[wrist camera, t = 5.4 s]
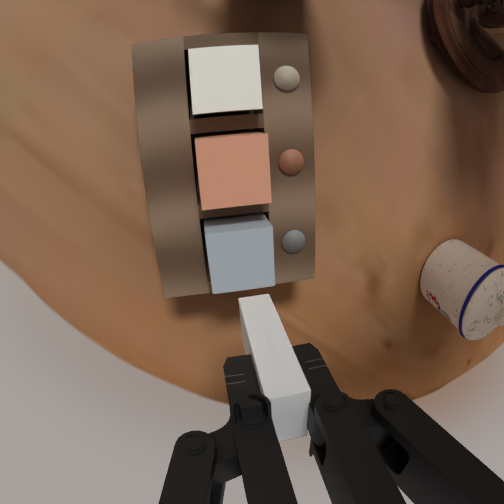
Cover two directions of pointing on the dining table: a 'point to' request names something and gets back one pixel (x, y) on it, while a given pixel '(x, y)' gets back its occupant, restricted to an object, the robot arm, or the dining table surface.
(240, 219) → the grey key
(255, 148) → the terracotta key
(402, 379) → the dining table surface
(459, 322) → the teacup with lid
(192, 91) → the cream key
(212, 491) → the robot arm
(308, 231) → the key box
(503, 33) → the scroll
